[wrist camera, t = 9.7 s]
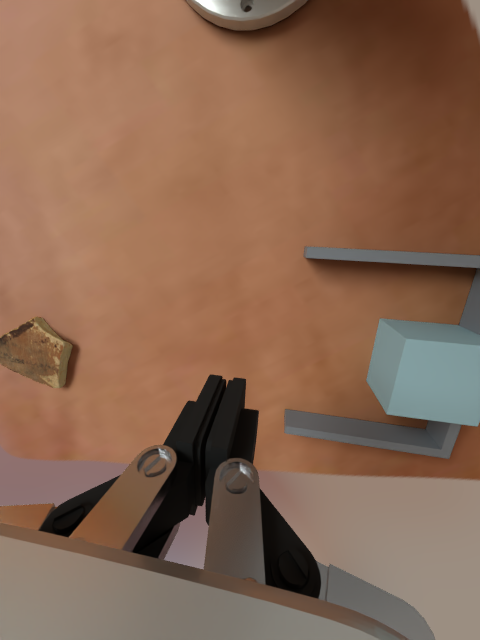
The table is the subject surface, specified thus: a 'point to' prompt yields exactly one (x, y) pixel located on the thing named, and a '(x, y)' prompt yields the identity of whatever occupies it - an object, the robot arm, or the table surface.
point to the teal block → (427, 371)
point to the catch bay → (380, 435)
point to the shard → (36, 353)
